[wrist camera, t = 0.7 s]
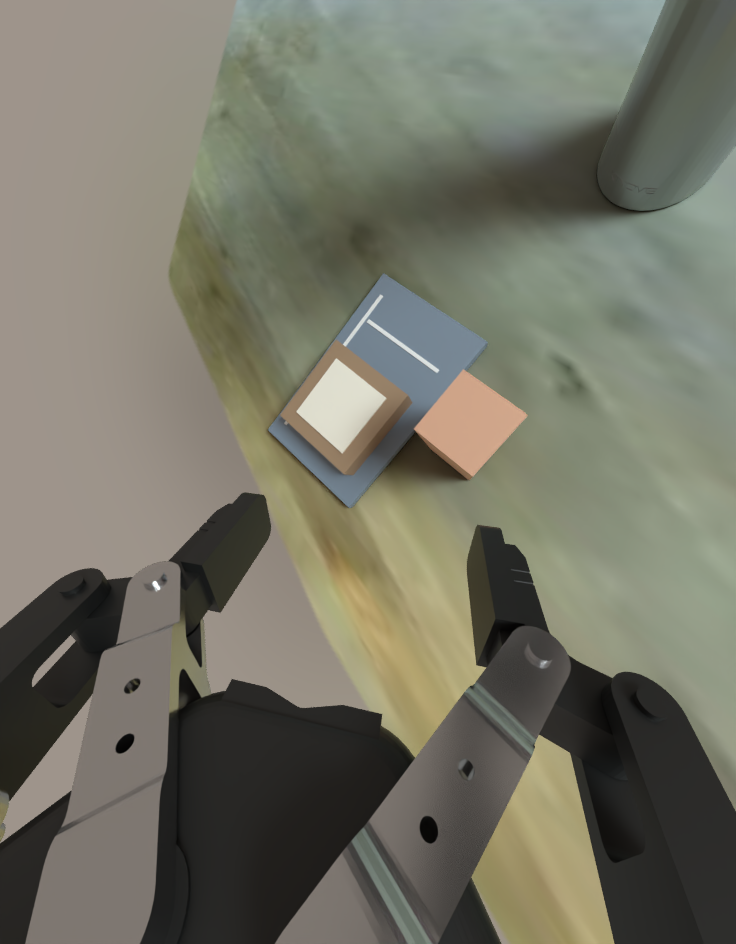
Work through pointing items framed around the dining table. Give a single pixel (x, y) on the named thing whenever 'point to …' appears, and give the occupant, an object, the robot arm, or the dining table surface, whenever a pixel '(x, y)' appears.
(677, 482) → the dining table surface
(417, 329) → the blueprint board
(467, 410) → the terracotta pillar
